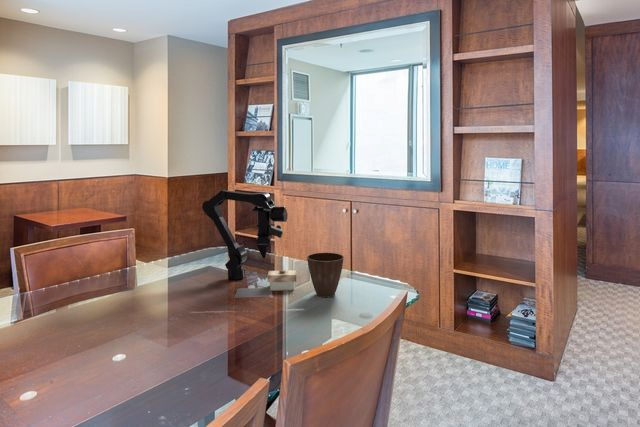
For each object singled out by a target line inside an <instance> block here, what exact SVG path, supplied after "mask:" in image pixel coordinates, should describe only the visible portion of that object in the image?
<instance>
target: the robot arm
mask: <svg viewBox="0 0 640 427" xmlns="http://www.w3.org/2000/svg"><path fill="white" fill-rule="evenodd" d="M229 200H230V201H235V202H236V201H237V202H241V203H242V202H245V203H249V204H251V205H254V206H255V207H254V208H253V209H252V212H256V218H257V219H256V220H257V224H256V226H257V234H256V236H257V237H256V238H255V245H256V247H257V249H258V251H259V252H260V255H261V258H263V259H266V258H267V257H266V255H267V254H268V247H269V246H271V242H272V239H273V236H275V237H277V238H279V239H281V238H282V235H283V234H284V229H283V228H282V226H281V225H279V224H277V225H276V226H273V225H272V222H273V223H274V222H276V223H280V222H281V223H286V222H287V221H288V210H287V209H286V208H287V207H286V206H285V205H283V206H282V205H281V206H277V205H276V204H275V203H274V201H273V199H272V197H271V195H270V194H269V192H266V191H265V192H253V193H249V192H243V191H237V190H236V191H233V190H228V189H223V190H220V191H219V192H218V193H217V194H216V195H214V196H213V197H211V198H210V199H209V200H205V201H204V202H203V203H202V206H201V210H202V211H203V212H204V213H205V215H206V216H207V217H208V218H209V219H211V220H212V222H213V223H214V225H215V227H216V229H217V231H218V233H219V235H220V236H221V238H222V240H223V242H224V244H225V245H226V248H227V254H228V255H227V256H228V258H229V260H228V261H227V262H226V263H224V266H225V268H226V269H227V280H226V281H227V282H231V281H232V282H233V281H235V282H239V281H240V282H241V281H242V280H244V278H245V273H244V272H245V270H244V268H243V265H244V263H245V261H246V260H247V259H248V251H247V250H246V248H245V246H244V245H243V244H241V245H240V244H239V243H237V240H236V239H235V237H234V234H233V233H232V232H231V230H230V227H229V226H228V224H227V222H226V220H225V218H224V216H223V209H222V205H223V204H224V202H225V201H229ZM271 221H272V222H271Z"/></svg>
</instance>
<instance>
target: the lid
mask: <svg viewBox="0 0 640 427" xmlns="http://www.w3.org/2000/svg"><path fill="white" fill-rule="evenodd" d="M270 282H294V283H296V282H297V270H295V269H293V270H283V269H282V270H268V273H267V283H270Z"/></svg>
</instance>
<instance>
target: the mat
mask: <svg viewBox="0 0 640 427" xmlns="http://www.w3.org/2000/svg"><path fill="white" fill-rule="evenodd" d="M270 294H271V291H270V287H250V288H249V287H246V288H245V287H244V288H243V287H241V288H240V287H239V288H237V290H236V293H235V295H234V297H233V298H235V299H238V298H239V299H241V298H242V299H244V298H269V297H270Z"/></svg>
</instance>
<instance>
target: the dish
mask: <svg viewBox="0 0 640 427" xmlns="http://www.w3.org/2000/svg"><path fill="white" fill-rule="evenodd" d="M269 286H270V287H269V288H270V292H272V291H273V292H275V291H278V292H279V291H295V282H269Z"/></svg>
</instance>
